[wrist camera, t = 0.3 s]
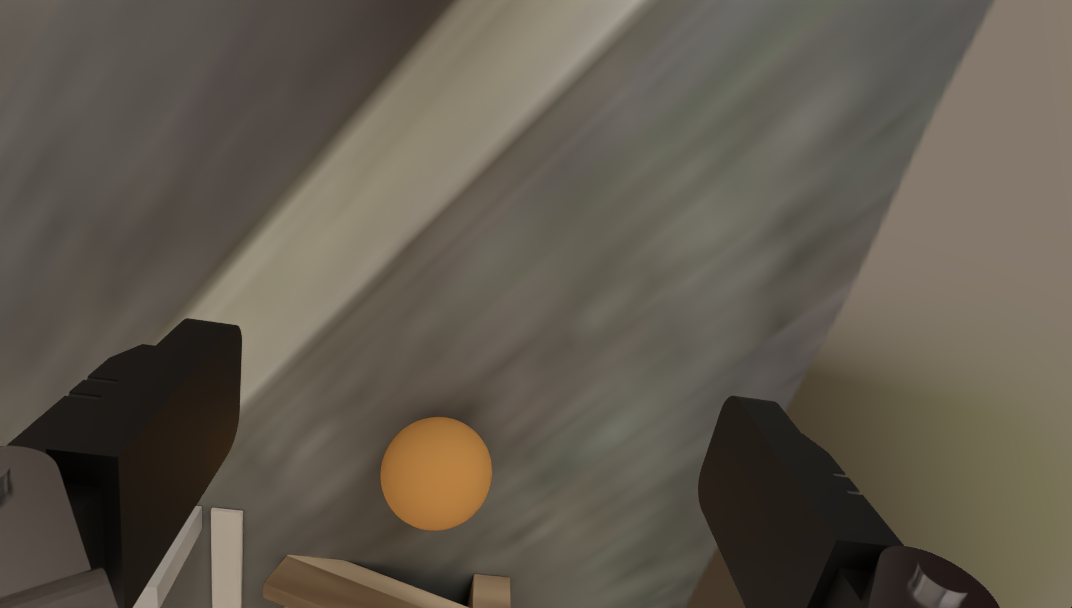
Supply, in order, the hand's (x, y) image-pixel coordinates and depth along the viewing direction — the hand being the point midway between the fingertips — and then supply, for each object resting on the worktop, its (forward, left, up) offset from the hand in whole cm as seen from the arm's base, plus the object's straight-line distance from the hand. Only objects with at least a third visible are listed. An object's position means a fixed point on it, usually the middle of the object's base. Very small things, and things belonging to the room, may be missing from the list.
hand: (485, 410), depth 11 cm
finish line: (+27, -10, -17) cm, 34 cm away
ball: (+14, 0, -15) cm, 20 cm away
